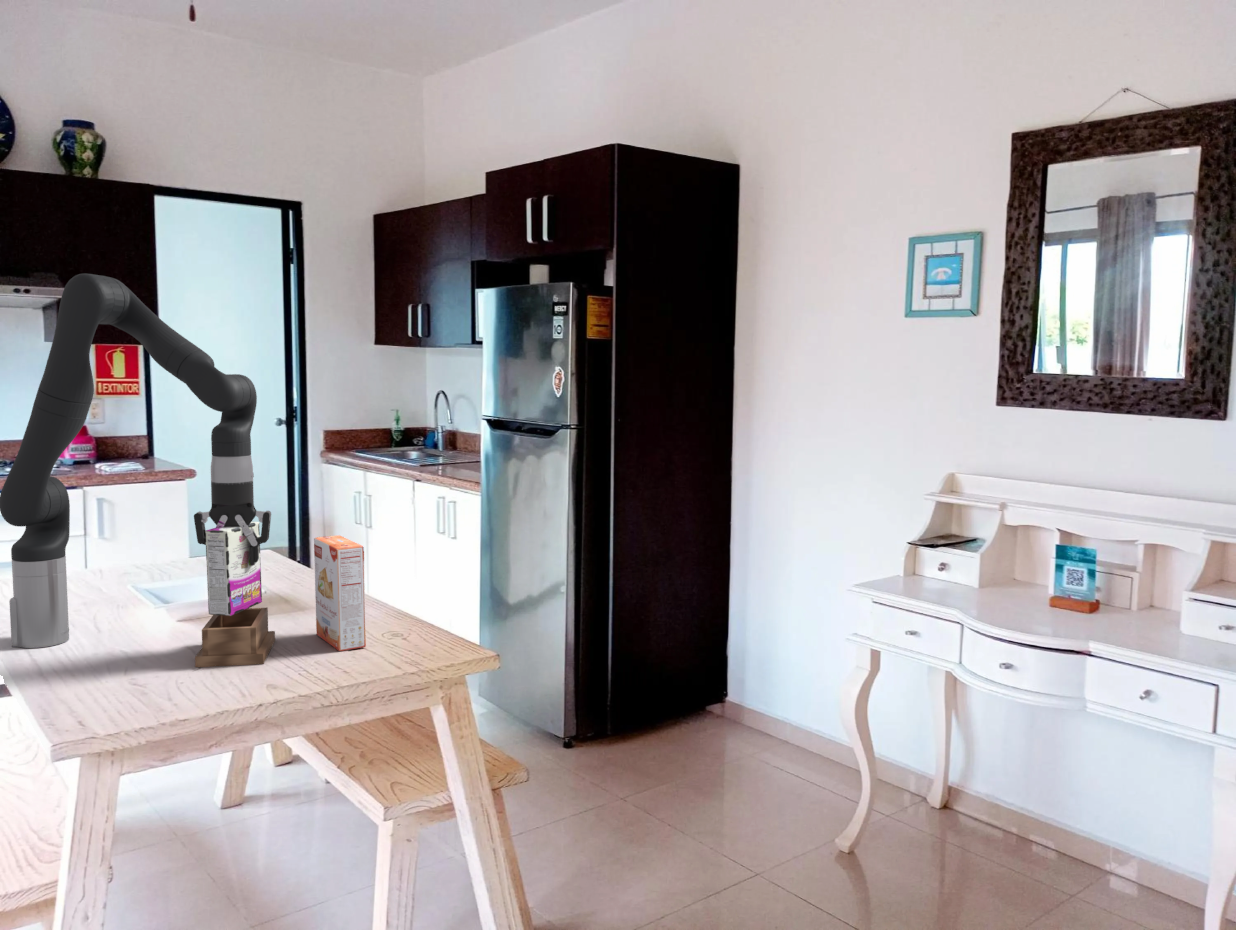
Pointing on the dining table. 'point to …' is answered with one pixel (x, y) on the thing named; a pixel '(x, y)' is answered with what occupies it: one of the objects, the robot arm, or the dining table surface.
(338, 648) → the cracker box
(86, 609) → the dining table surface
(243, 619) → the walnut stand
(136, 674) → the dining table surface
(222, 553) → the candy bar box
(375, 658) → the dining table surface
